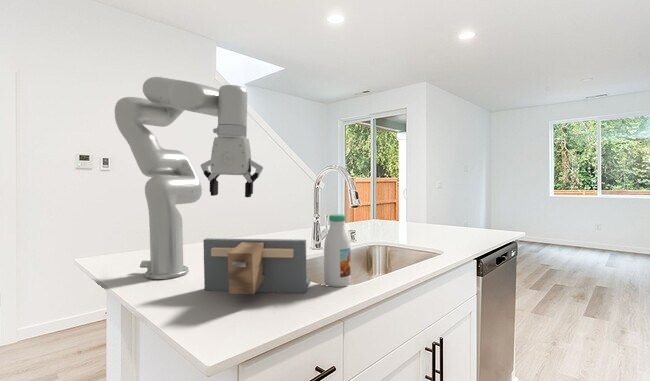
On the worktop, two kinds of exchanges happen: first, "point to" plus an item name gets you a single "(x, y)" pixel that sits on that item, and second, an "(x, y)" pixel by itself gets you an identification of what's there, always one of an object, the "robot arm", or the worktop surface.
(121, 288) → the worktop surface
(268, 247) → the wall board
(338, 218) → the milk bottle
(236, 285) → the cabinet
